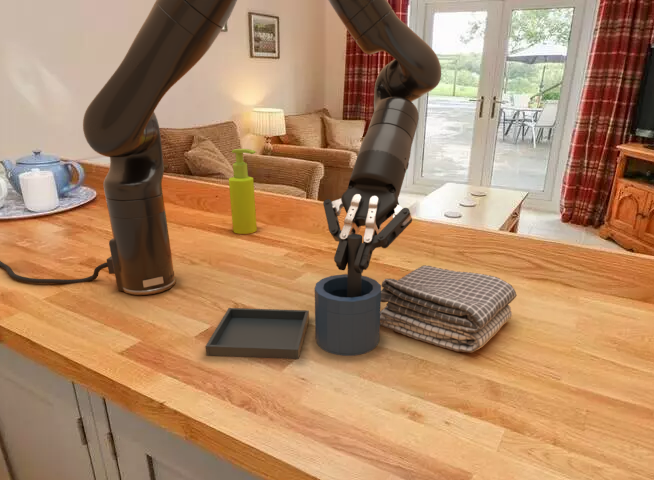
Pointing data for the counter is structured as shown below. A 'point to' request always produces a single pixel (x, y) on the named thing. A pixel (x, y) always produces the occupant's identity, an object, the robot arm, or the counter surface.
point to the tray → (259, 333)
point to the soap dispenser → (242, 196)
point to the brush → (352, 275)
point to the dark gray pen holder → (347, 316)
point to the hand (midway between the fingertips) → (349, 268)
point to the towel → (447, 307)
